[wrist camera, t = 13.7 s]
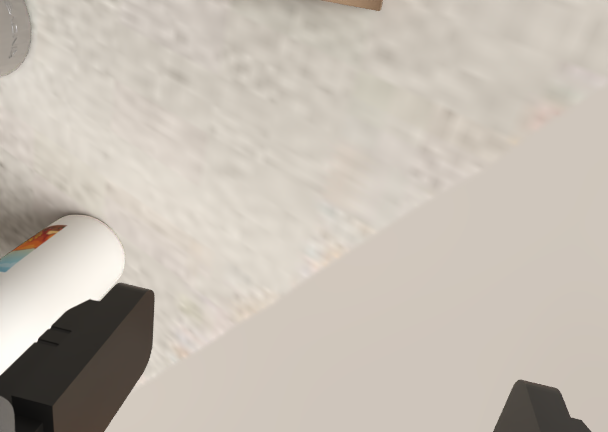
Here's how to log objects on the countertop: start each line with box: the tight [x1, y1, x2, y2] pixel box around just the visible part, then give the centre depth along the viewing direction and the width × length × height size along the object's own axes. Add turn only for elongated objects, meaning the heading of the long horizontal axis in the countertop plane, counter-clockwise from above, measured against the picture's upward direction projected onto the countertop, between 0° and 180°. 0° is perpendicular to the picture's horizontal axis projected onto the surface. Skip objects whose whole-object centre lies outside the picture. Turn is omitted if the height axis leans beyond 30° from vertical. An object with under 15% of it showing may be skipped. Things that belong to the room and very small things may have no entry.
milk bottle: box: [0, 215, 125, 375], centre depth 39 cm, size 8×8×20 cm
